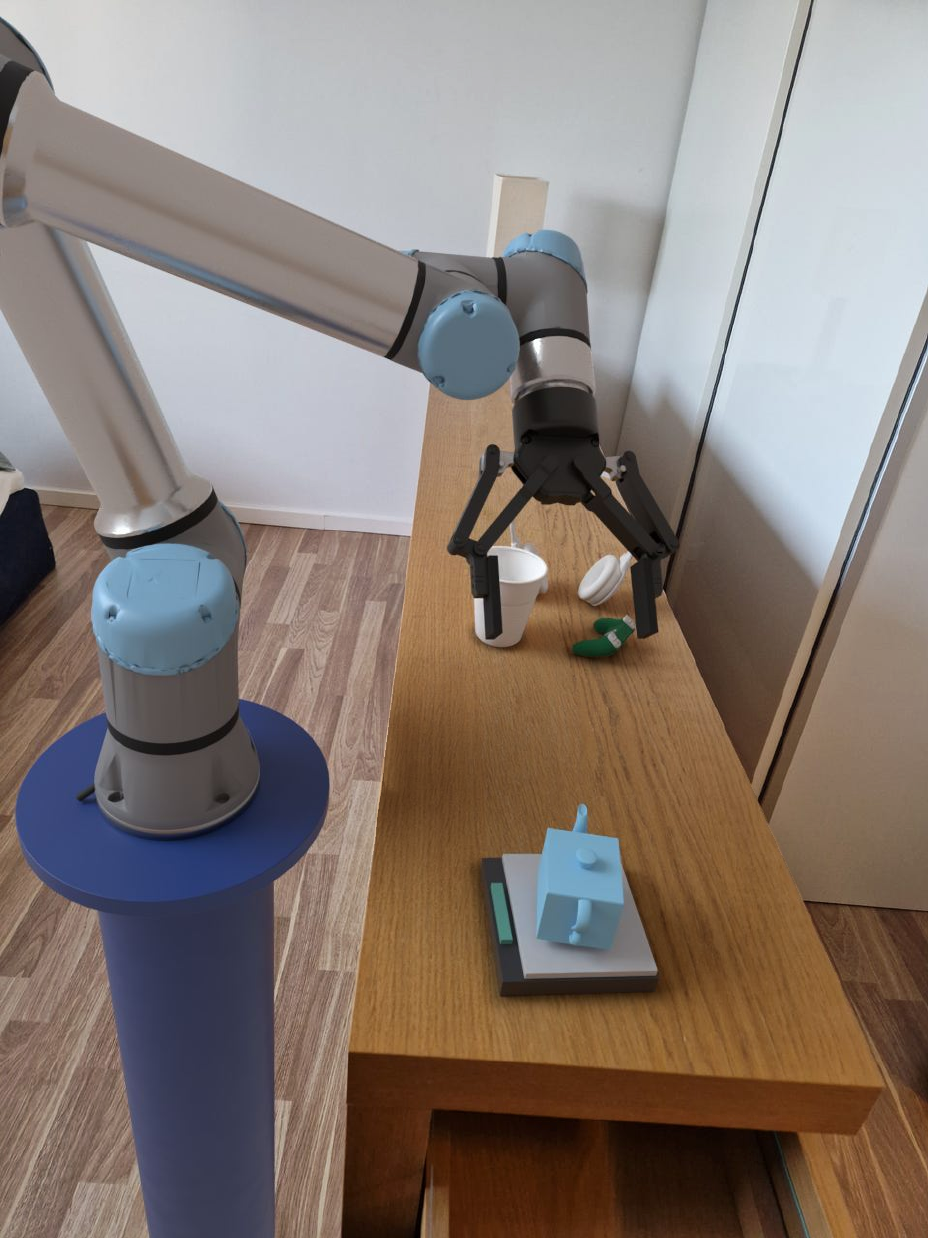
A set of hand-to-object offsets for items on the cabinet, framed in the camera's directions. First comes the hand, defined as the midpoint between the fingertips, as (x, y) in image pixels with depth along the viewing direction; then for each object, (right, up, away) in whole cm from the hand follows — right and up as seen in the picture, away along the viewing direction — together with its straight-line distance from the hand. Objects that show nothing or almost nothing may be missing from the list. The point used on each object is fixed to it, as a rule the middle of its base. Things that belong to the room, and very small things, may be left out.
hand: (572, 636), depth 73 cm
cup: (-5, -1, +43) cm, 44 cm away
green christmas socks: (+9, -3, +44) cm, 45 cm away
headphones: (+5, +4, +54) cm, 55 cm away
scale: (0, -26, +4) cm, 26 cm away
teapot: (0, -24, +2) cm, 24 cm away
